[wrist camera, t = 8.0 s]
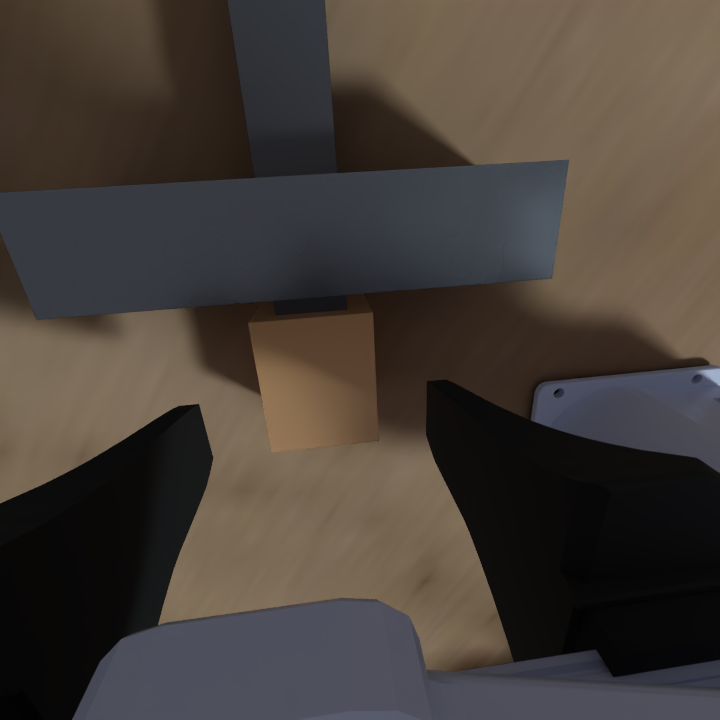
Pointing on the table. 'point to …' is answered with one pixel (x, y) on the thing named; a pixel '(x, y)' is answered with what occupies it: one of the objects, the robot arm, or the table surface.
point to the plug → (291, 158)
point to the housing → (281, 237)
